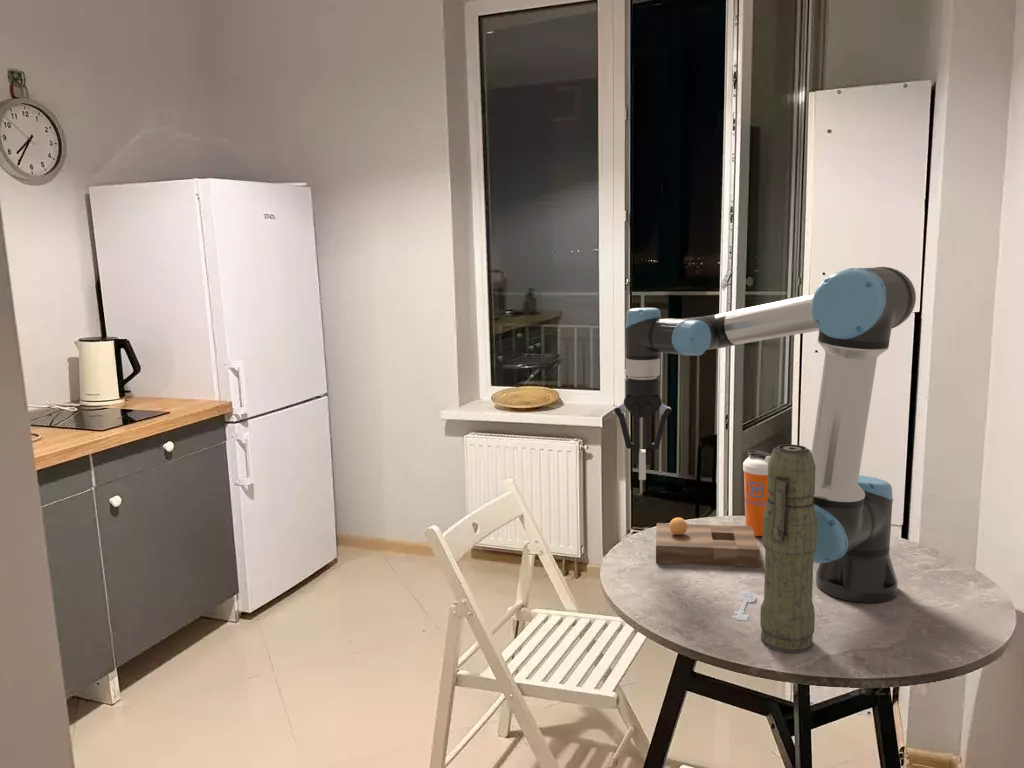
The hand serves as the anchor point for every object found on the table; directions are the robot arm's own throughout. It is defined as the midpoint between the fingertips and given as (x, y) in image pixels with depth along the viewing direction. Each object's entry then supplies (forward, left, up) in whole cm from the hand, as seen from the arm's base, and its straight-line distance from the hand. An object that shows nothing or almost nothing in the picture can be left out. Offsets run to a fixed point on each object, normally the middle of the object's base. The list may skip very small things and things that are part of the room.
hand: (642, 478), depth 180 cm
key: (-28, -20, -18) cm, 39 cm away
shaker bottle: (+15, -28, -17) cm, 36 cm away
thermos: (-41, -26, -17) cm, 52 cm away
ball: (0, -8, -11) cm, 14 cm away
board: (0, -14, -17) cm, 22 cm away
